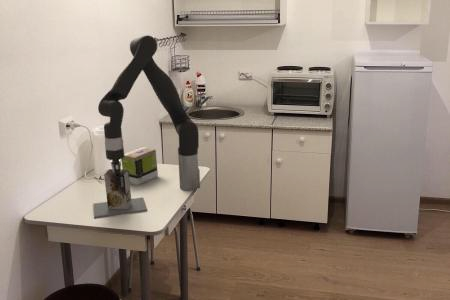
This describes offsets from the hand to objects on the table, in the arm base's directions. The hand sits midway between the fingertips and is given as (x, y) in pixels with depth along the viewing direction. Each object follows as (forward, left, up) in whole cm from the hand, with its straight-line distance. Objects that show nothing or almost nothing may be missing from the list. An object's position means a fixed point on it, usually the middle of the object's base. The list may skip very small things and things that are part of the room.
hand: (117, 183), depth 208 cm
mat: (0, 0, -12) cm, 12 cm away
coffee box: (0, 0, -11) cm, 11 cm away
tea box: (-13, -33, -12) cm, 37 cm away
